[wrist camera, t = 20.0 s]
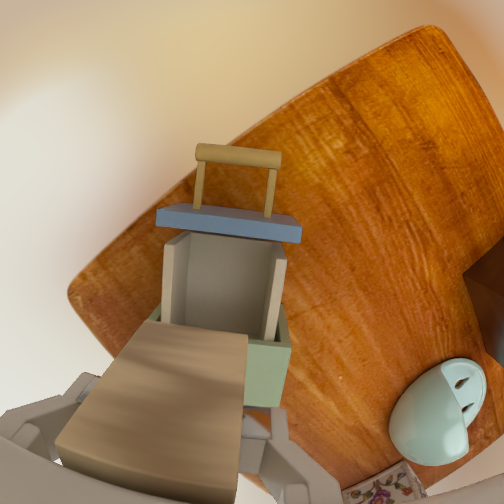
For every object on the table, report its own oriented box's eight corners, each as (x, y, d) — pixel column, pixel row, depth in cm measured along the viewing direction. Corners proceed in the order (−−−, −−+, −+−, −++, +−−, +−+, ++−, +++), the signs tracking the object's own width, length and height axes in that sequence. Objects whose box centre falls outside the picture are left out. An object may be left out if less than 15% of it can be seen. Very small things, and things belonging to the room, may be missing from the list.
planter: (387, 439, 28) (506, 358, 26) (370, 400, 35) (475, 332, 33) (418, 496, 31) (508, 437, 29) (404, 465, 38) (487, 411, 36)
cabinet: (170, 288, 32) (140, 326, 23) (283, 303, 32) (292, 348, 23) (168, 392, 35) (148, 443, 26) (264, 406, 35) (265, 461, 26)
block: (148, 398, 13) (90, 522, 6) (145, 318, 12) (52, 441, 5) (237, 412, 13) (224, 553, 6) (248, 334, 12) (236, 489, 5)
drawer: (186, 147, 28) (164, 137, 21) (299, 159, 28) (312, 153, 21) (172, 324, 32) (151, 360, 25) (272, 338, 32) (276, 378, 25)
